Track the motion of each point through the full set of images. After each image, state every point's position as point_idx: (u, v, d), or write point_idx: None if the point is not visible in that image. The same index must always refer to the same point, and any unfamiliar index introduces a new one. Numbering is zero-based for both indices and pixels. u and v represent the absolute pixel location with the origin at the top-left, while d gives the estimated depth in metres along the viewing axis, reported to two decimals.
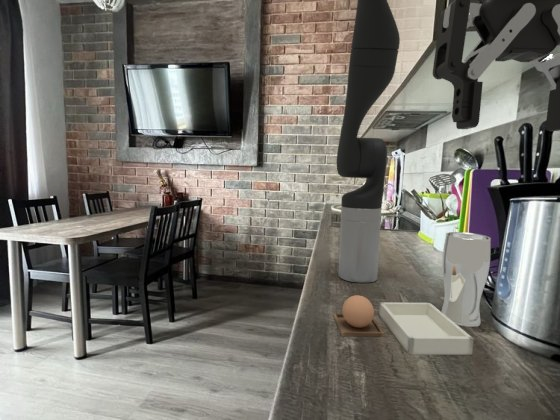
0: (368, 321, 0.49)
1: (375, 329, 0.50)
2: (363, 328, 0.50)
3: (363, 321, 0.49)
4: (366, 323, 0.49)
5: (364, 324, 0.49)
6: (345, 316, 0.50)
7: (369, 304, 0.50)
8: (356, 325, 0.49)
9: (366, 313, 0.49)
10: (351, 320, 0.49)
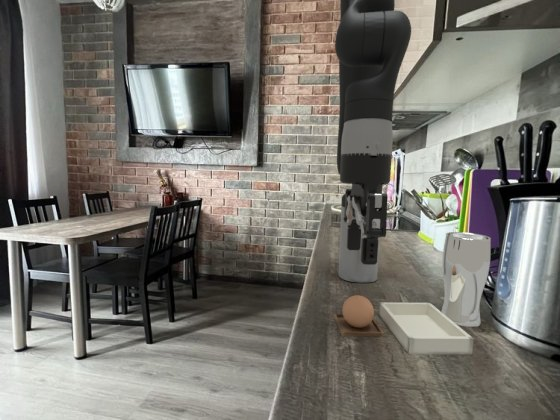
0: (368, 321, 0.49)
1: (375, 329, 0.50)
2: (363, 328, 0.50)
3: (363, 321, 0.49)
4: (366, 323, 0.49)
5: (364, 324, 0.49)
6: (345, 316, 0.50)
7: (369, 304, 0.50)
8: (356, 325, 0.49)
9: (366, 313, 0.49)
10: (351, 320, 0.49)
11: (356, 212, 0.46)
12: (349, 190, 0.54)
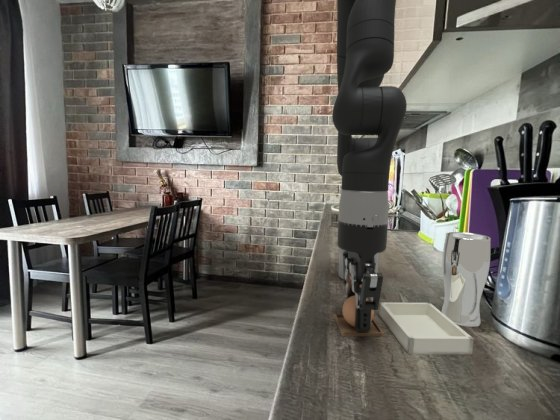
0: None
1: (375, 329, 0.50)
2: None
3: None
4: None
5: None
6: (345, 316, 0.50)
7: None
8: None
9: None
10: (351, 320, 0.49)
11: (352, 280, 0.48)
12: (346, 252, 0.56)
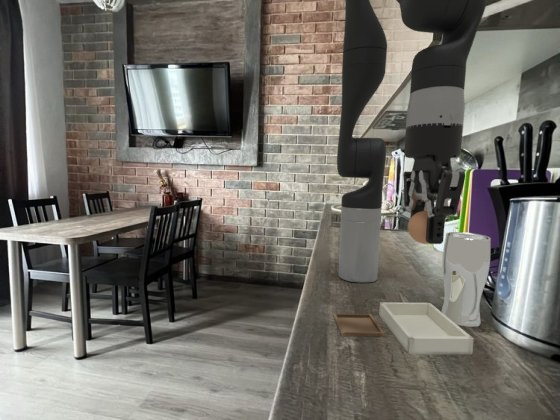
0: None
1: (375, 329, 0.50)
2: (363, 328, 0.50)
3: None
4: None
5: None
6: (413, 231, 0.47)
7: None
8: None
9: None
10: (420, 234, 0.46)
11: (424, 188, 0.45)
12: (408, 172, 0.52)
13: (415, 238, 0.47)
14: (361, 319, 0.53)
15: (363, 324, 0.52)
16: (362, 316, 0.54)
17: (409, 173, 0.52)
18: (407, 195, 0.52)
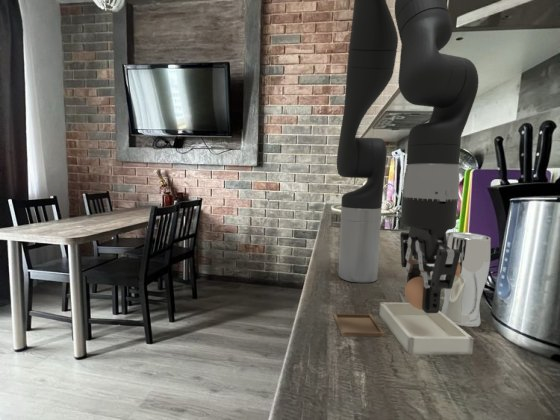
0: None
1: (375, 329, 0.50)
2: (363, 328, 0.50)
3: None
4: None
5: None
6: (410, 298, 0.48)
7: None
8: None
9: None
10: (417, 302, 0.47)
11: (420, 258, 0.46)
12: (405, 233, 0.53)
13: (412, 304, 0.48)
14: (361, 319, 0.53)
15: (363, 324, 0.52)
16: (362, 316, 0.54)
17: (406, 234, 0.53)
18: (404, 256, 0.53)
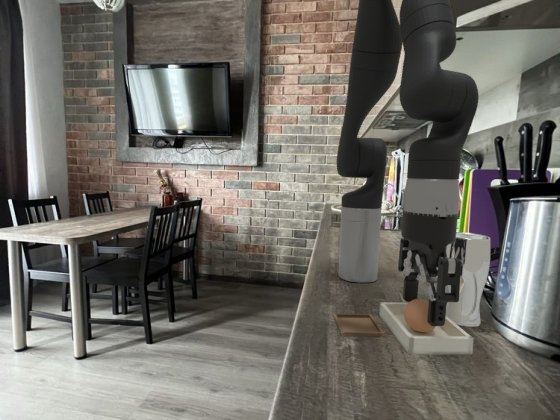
0: (434, 326, 0.47)
1: (375, 329, 0.50)
2: (363, 328, 0.50)
3: (429, 325, 0.47)
4: (432, 328, 0.47)
5: (430, 329, 0.47)
6: (409, 320, 0.48)
7: None
8: (421, 330, 0.48)
9: None
10: (416, 325, 0.47)
11: (422, 271, 0.46)
12: (405, 240, 0.54)
13: (411, 327, 0.49)
14: (361, 319, 0.53)
15: (363, 324, 0.52)
16: (362, 316, 0.54)
17: (406, 241, 0.54)
18: (401, 262, 0.54)
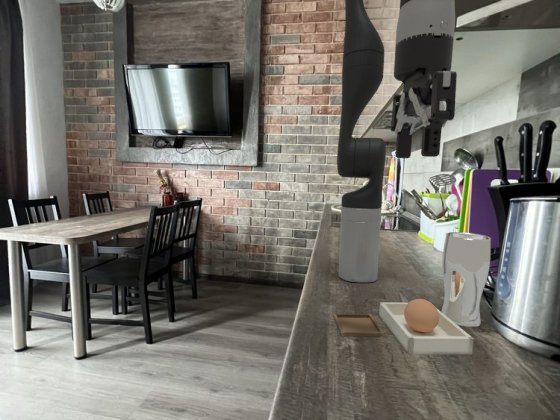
0: (434, 326, 0.47)
1: (375, 329, 0.50)
2: (363, 328, 0.50)
3: (430, 325, 0.47)
4: (432, 328, 0.47)
5: (430, 329, 0.47)
6: (409, 320, 0.48)
7: (434, 308, 0.48)
8: (421, 330, 0.48)
9: (432, 318, 0.47)
10: (416, 325, 0.47)
11: (415, 102, 0.43)
12: (398, 95, 0.51)
13: (411, 326, 0.49)
14: (361, 319, 0.53)
15: (363, 324, 0.52)
16: (362, 316, 0.54)
17: (399, 96, 0.51)
18: (394, 120, 0.52)
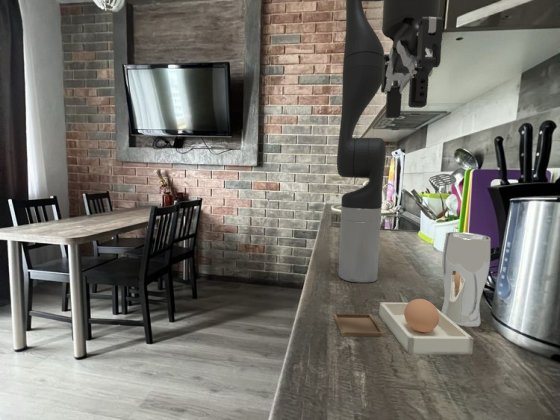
0: (434, 326, 0.47)
1: (375, 329, 0.50)
2: (363, 328, 0.50)
3: (430, 325, 0.47)
4: (432, 328, 0.47)
5: (430, 329, 0.47)
6: (409, 320, 0.48)
7: (435, 308, 0.48)
8: (421, 330, 0.48)
9: (433, 318, 0.47)
10: (416, 325, 0.47)
11: (403, 54, 0.43)
12: (388, 55, 0.51)
13: (411, 326, 0.49)
14: (361, 319, 0.53)
15: (363, 324, 0.52)
16: (362, 316, 0.54)
17: (389, 56, 0.51)
18: (384, 80, 0.51)
